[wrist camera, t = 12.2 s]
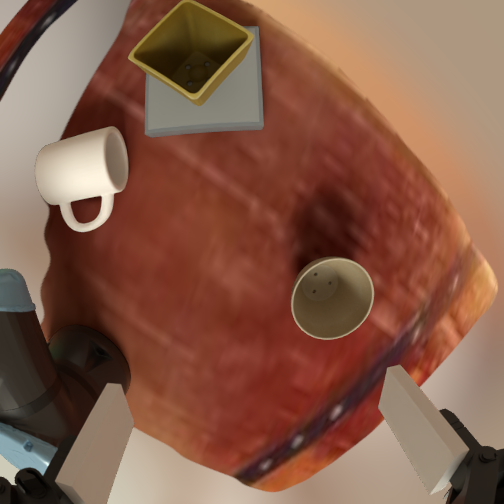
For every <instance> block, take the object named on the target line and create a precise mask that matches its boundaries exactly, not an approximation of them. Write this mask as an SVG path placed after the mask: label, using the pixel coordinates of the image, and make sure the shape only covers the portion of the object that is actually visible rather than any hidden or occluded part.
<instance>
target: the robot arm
mask: <svg viewBox="0 0 504 504" xmlns="http://www.w3.org/2000/svg"><path fill="white" fill-rule="evenodd" d="M35 309H36V307H35V304H34V303H32V300H31V297H30V294H29V291H28V288H27V285H26V282H25V280H24V278H23V276H22V275H21V274H20V273H19V272H18V271H16V270H13V269H0V454H1V455H2V456H3V457H4V458H5V459H6V460H8V461H9V462H10V463H11V464H12V465H14V466H15V467H16V468H18V469H20V471H19V472H18V473H17V474H16V476H15V483H16V484H17V485H11V484H10V482H9V481H8V480H7V479H5V478H4V477H0V504H107V501H108V498H109V495H110V492H111V488H112V486H113V483H114V479H115V477H116V474H117V471H118V468H119V465H120V462H121V459H122V456H123V454H124V451H125V448H126V445H127V442H128V440H129V437H130V434H131V431H132V429H133V426H134V421H133V418H132V415H131V413H130V410H129V407H128V404H127V401H126V398H125V395H126V393H127V391H128V389H129V386H130V379H131V378H130V371H129V367H128V365H127V362H126V360H125V358H124V357H123V355H122V353H121V352H120V351H119V349H118V348H117V347H116V346H115V345H114V344H113V343H112V342H111V341H110V340H109V339H108V338H106V337H105V336H104V335H102V334H101V333H99V332H97V331H95V330H93V329H91V328H88V327H85V326H80V325H70V326H66V327H63V328H61V329H60V330H59V331H58V332H56V333H55V334H54V335H53V336H52V337H51V339H50V340H49V342H48V344H47V342H46V340H45V337H44V334H43V332H42V329H41V326H40V323H39V320H38V318H37V315H36V311H35ZM378 408H379V410H380V411H381V413H382V415H383V416H384V418H385V420H386V421H387V423H388V425H389V426H390V428H391V430H392V431H393V433H394V435H395V436H396V438H397V440H398V441H399V443H400V445H401V447H402V448H403V450H404V452H405V453H406V455H407V457H408V459H409V460H410V462H411V464H412V465H413V467H414V469H415V470H416V472H417V474H418V476H419V478H420V479H421V481H422V483H423V484H424V486H425V488H426V490H427V492H428V493H429V494H430V495H431V494H433V493H435V492H437V491H440V490H442V489H444V488H445V486H446V485H447V483H448V482H449V481H450V482H451V484H452V487H451V488H450V489H449V490H448V492H447V493H446V494H445V496H444V499H446V497H447V496H448V498H447V501H446V504H504V449H500V450H495V449H494V448H493V447H489V446H481V445H480V444H479V443H478V442H477V440H476V439H475V438H474V437H473V436H472V434H471V433H470V432H469V431H468V430H467V428H466V427H464V425H463V424H462V423H461V422H460V421H459V419H458V418H457V417H456V415H455V414H454V413H452V412H450V411H449V410H447V409H442V410H440V411H438V410H437V408H436V407H435V406H434V405H433V403H432V402H431V401H430V400H429V399H428V397H427V396H426V395H425V394H424V393H423V391H422V390H421V389H420V388H419V387H418V385H417V384H416V383H415V382H414V381H413V379H412V378H411V377H410V376H409V375H408V374H407V372H406V371H405V370H404V369H403V368H402V367H401V365H398V366H393V367H388V368H387V372H386V377H385V381H384V386H383V390H382V394H381V398H380V402H379V406H378Z"/></svg>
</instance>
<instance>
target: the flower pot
mask: <svg viewBox="0 0 504 504" xmlns="http://www.w3.org/2000/svg"><path fill="white" fill-rule="evenodd" d="M253 39H254V34H253V33H251V32H250V31H249V30H247V29H245V28H244V27H242V26H240V25H239V24H237V23H235V22H233V21H232V20H230V19H228V18H226V17H224V16H223V15H221V14H219V13H217V12H215V11H213V10H211V9H209V8H208V7H206V6H204V5H202V4H200V3H198V2H196V1H193V0H182V1H181V2H179V3H178V4H177V5H176V6H175V7H174V8H173V9H172V10H171V11H170V12H169V13H168V14H167V15H166V16H165V17H164V18H163V19H162V20H161V21H160V22H159V23H158V24H157V25H156V26H155V27H154V28H153V29H152V30H151V31H150V32H149V33H148V34H147V35H146V36H145V37H144V38H143V39H142V40H141V41H140V42H139V43H138V44H137V45H136V47H135V48H134V49H133V50H132V51H131V53H130V54H129V56H128V59H129V60H130V61H132V62H133V63H134V64H136V65H137V66H138V67H140V68H141V69H142V70H143V71H145V72H146V73H147V74H149V75H151V76H152V77H154V78H156V79H157V80H159V81H161V82H162V83H164V84H165V85H167V86H169V87H170V88H172V89H173V90H175V91H176V92H178V93H179V94H181V95H182V96H183V97H185V98H186V99H188V100H189V101H191V102H192V103H193V104H195V105H197V106H201V105H203V104H204V103H205V102H206V101H207V99H208V98H209V97H210V96H211V95H212V93H213V92H214V91H215V90H216V89H217V88H218V86H219V85H220V84H221V83H222V82H223V81H224V80H225V79H226V78H227V76H228V75H229V74H230V73H231V72H232V71H233V70H234V69H235V68H236V67H237V66H238V65H239V64H240V63H241V62H242V61H243V59H244V58H245V56H246V54H247V52H248V50H249V48H250V46H251V44H252V41H253ZM206 62H208V63H209V66H205V63H206ZM188 65H189V66H190V69H186V66H188ZM207 79H209V80H208V81H207ZM189 81H191V82H192V85H190V86H189V85H188V84H187V83H188V82H189Z"/></svg>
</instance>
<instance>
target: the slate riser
mask: <svg viewBox="0 0 504 504" xmlns="http://www.w3.org/2000/svg"><path fill="white" fill-rule="evenodd" d="M242 27H244V28H245V29H247V30H249V31H250V32H251V33H253V34H254V39H253V41H252V44H251V46H250V48H249V50H248V52H247V54H246V56H245V58H244V59H243V61H242V62H241V63H240V64H239V65H238V66H237V67H236V68H235V69H234V70H233V71H232V72H231V73H230V74H229V75H228V76H227V78H226V79H225V80H224V81H223V82H222V83H221V84H220V85H219V86H218V88H217V89H216V90H215V91H214V92H213V93H212V95H211V96H210V97H209V98H208V99H207V101H206V102H205V103H204V104H203V105H201V106H197V105H195V104H193V103H192V102H191V101H189V100H188V99H186V98H185V97H183V96H182V95H181V94H179V93H178V92H176V91H175V90H173V89H172V88H170V87H169V86H167V85H165V84H164V83H162V82H161V81H159V80H157V79H156V78H154V77H152V76H151V75H149V74H147V73H146V92H145V135H147V136H149V137H151V138H152V137H161V136H170V135H180V134H191V133H203V132H218V131H239V130H262V128H263V126H264V121H263V99H262V79H261V60H260V42H259V26H242ZM205 66H209V63H208V62H206V63H205ZM186 69H190V66H189V65H188V66H186ZM208 80H209V79H207V81H208ZM187 84H188V85H189V86H190V85H192V82H191V81H189V82H188V83H187Z"/></svg>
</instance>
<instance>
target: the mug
mask: <svg viewBox="0 0 504 504" xmlns="http://www.w3.org/2000/svg"><path fill="white" fill-rule="evenodd" d="M128 170H129V166H128V155H127V149H126V145H125V142H124V139H123V137H122V135H121V133H120V131H119V130H118V129H117V128H116V127H113V126H110V127H106V128H103V129H99V130H95V131H91V132H88V133H84V134H81V135H77V136H74V137H71V138H67V139H64V140H61V141H58V142H55V143H52V144H49V145H46V146H44V147H43V148H42V149H41V150H40V152H39V154H38V156H37V159H36V163H35V179H36V184H37V187H38V190H39V192H40V194H41V196H42V197H43V199H44V200H45V201H46V202H47V203H49V204H51V205H58V204H59V205H60V209H61V213H62V216H63V218H64V220H65V222H66V223H67V225H68V226H69V227H70V228H71V229H73V230H75V231H78V232H87V231H91V230H93V229H96V228H97V227H99V226H101V225H102V224H103V223H104V222H105V221H106V220H107V219H108V217H109V216H110V214H111V211H112V208H113V203H114V193H117V192H121V191H122V190H123V189H124V188H125V186H126V184H127V180H128ZM96 196H101V197H102V205H101V210H100V213H99V215H98V217H97V218H96V219H95V220H94V221H92V222H89V223H85V224H82V223H79V222H77V221H76V219H75V218H74V215H73V212H72V209H71V202H72V201H76V200H81V199H86V198H91V197H96Z"/></svg>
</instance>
